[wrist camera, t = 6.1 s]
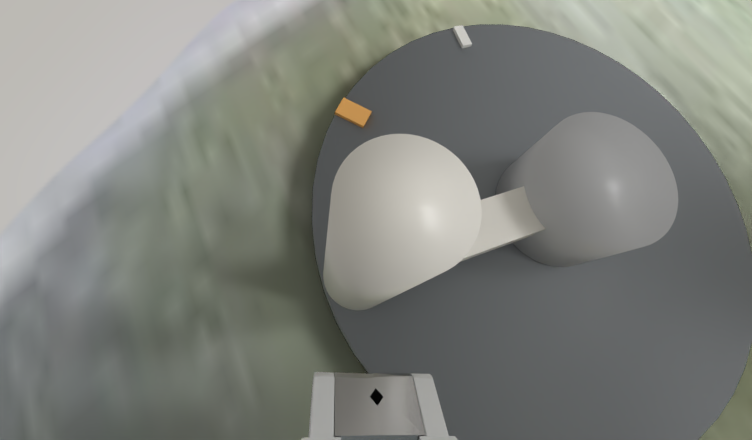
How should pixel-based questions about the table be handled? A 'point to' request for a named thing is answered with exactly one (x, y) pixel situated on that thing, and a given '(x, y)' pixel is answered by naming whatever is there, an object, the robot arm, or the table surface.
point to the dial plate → (543, 282)
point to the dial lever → (492, 206)
